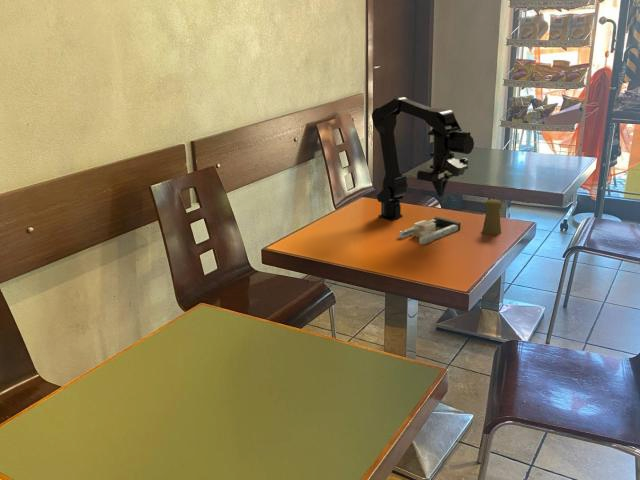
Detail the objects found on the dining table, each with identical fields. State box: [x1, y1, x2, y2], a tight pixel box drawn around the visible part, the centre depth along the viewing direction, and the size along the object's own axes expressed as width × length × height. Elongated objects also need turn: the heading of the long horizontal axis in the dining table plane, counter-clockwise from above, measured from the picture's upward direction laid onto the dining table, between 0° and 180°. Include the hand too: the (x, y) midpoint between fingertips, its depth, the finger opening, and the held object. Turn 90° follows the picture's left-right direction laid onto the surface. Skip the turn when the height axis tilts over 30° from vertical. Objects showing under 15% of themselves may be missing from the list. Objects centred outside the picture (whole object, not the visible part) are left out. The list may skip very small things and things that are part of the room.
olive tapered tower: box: [481, 198, 503, 236], centre depth 205 cm, size 6×6×11 cm
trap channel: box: [398, 216, 462, 246], centre depth 207 cm, size 10×20×2 cm, turn 132°
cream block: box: [413, 219, 436, 238], centre depth 205 cm, size 5×5×4 cm
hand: (440, 196), depth 207 cm, fingers closed
